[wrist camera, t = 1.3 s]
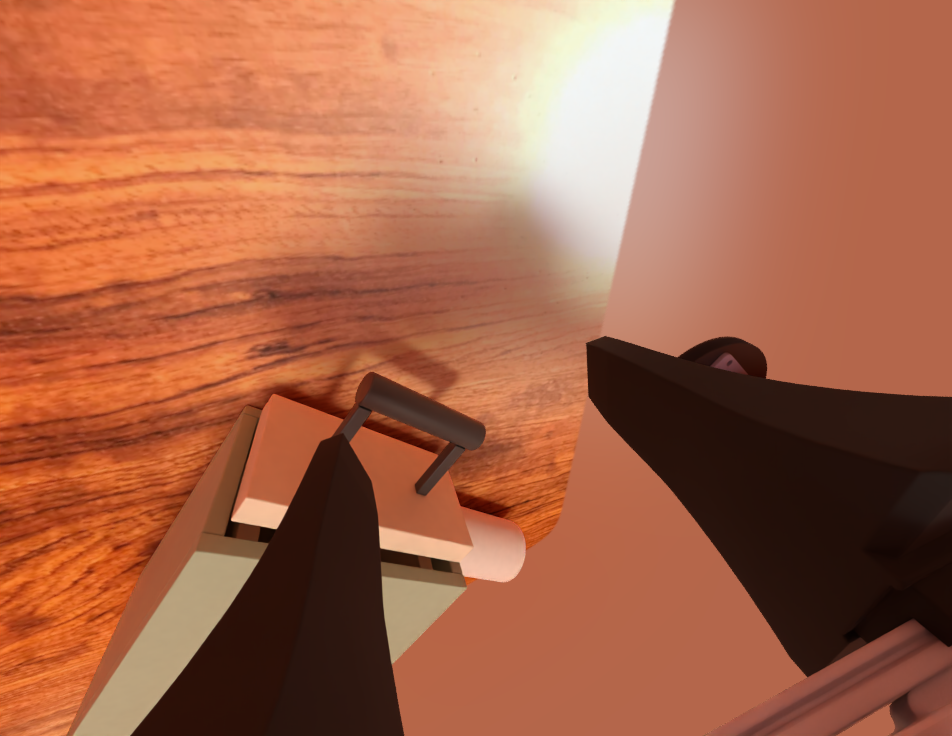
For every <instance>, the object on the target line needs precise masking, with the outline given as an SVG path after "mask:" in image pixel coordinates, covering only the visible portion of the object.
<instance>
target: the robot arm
mask: <svg viewBox="0 0 952 736" xmlns="http://www.w3.org/2000/svg"><path fill="white" fill-rule="evenodd" d="M586 347H587V371H588V395H589V398H590V399H591V401H592V402H593V403H594V405H595V406H596V408H597V409H598V410H599V412H600V413H601V414H602V416H603V417H604V418H605V420H606V421H607V422H608V424H609V425H610V426H611V427H612V428H613V429H614V430H615V431H616V432H617V433H618V434H619V435H620V436H621V437H622V438H623V439H624V441H625V442H626V443H627V444H628V445H629V446H630V447H631V448H632V449H633V450H634V451H635V452H636V453H637V454H638V455H639V456H640V457H641V458H642V459H643V460H644V461H645V462H646V463H647V464H648V465H649V466H650V467H651V468H652V470H653V471H654V472H655V473H657V475H658V476H659V477H660V478H661V479H662V480H663V481H664V482H665V483H666V484H667V485H668V487H669V488H670V489H671V490H672V491H673V492H674V494H675V495H676V496H677V498H678V499H679V500H680V501H681V502H682V504H683V505H684V506H685V508H686V509H687V510H688V512H689V513H690V514H691V515H692V517H693V518H694V519H695V520H696V522H697V523H698V524H699V526H700V527H701V528H702V530H703V531H704V532H705V534H706V535H707V536H708V538H709V539H710V540H711V542H712V543H713V544H714V546H715V547H716V548H717V550H718V551H719V552H720V554H721V555H722V556H723V558H724V559H725V561H726V562H727V564H728V565H729V567H730V568H731V569H732V571H733V572H734V574H735V575H736V576H737V578H738V579H739V581H740V582H741V583H742V585H743V586H744V587H745V589H746V591H747V592H748V594H749V595H750V597H751V598H752V600H753V601H754V602H755V604H756V606H757V607H758V609H759V610H760V612H761V613H762V615H763V616H764V618H765V619H766V621H767V622H768V624H769V625H770V626H771V628H772V630H773V631H774V633H775V634H776V636H777V637H778V639H779V641H780V642H781V644H782V645H783V647H784V649H785V650H786V652H787V653H788V655H789V656H790V658H791V659H792V660H793V661H794V662H795V664H796V665H797V666H798V667H799V668H800V669H801V670H802V672H803V673H804V674H805V675H806V676H807V677H808V678H806V679H804V680H803V681H800V682H799V683H797V684H795V685H793V686H792V687H790V688H788V689H786V690H784V691H783V692H781V693H779V694H777V695H776V696H774V697H772V698H770V699H768V700H767V701H765V702H763V703H761V704H759V705H758V706H756V707H754V708H752V709H750V710H749V711H747V712H745V713H743V714H742V715H740V716H738V717H736V718H734V719H733V720H731V721H729V722H727V723H725V724H724V725H722V726H720V727H718V728H717V729H715V730H713V731H711V732H709V733H708V734H706V735H704V736H836V735H838V734H840V733H841V732H843V731H845V730H846V729H848V728H850V727H851V726H853V725H855V724H856V723H858V722H860V721H862V720H863V719H865V718H867V717H868V716H870V715H872V714H873V713H874V712H877V711H878V710H880V709H882V708H883V707H885V706H887V705H889V704H890V703H892V704H891V705H890V715H891V717H892V719H893V721H894V724H895V730H894V732H893V733H891V734H890V735H888V736H952V397H937V396H913V395H897V394H884V393H871V392H860V391H851V390H840V389H832V388H824V387H817V386H809V385H801V384H795V383H788V382H781V381H776V380H770V379H765V378H760V377H755V376H749V375H748V374H747V373H746V372H745V370H744V369H743V368H742V367H741V366H740V364H739V363H738V362H737V361H736V360H735V358H734V357H733V356H732V355H731V354H729V353H723V354H722V355H721V356H720V357H719V358H718V359H717V360H716V361H715V362H714V363H713V364H712V365H711V366H706V365H702V364H698V363H695V362H691V361H688V360H684V359H681V358H677V357H674V356H670V355H667V354H664V353H660V352H657V351H654V350H650V349H647V348H644V347H641V346H638V345H635V344H631V343H628V342H625V341H621V340H618V339H614V338H610V337H606V336H604V337H601V338H599V339H596V340H593V341H590V342H588V343H586ZM130 736H404V732H403V727H402V721H401V716H400V711H399V705H398V699H397V693H396V687H395V682H394V675H393V669H392V663H391V657H390V650H389V644H388V637H387V630H386V624H385V616H384V606H383V592H382V573H381V555H380V537H379V521H378V512H377V506H376V500H375V495H374V490H373V485H372V481H371V479H370V477H369V476H368V474H367V472H366V471H365V469H364V467H363V465H362V464H361V462H360V460H359V459H358V457H357V455H356V454H355V452H354V450H353V448H352V447H351V445H350V443H349V442H348V440H347V438H346V437H345V435H344V433H341V434H338V435H336V436H333V437H330V438H327V439H325V440H322V441H320V443H319V445H318V447H317V449H316V451H315V453H314V455H313V457H312V459H311V462H310V464H309V466H308V468H307V470H306V472H305V474H304V476H303V479H302V481H301V483H300V485H299V487H298V489H297V491H296V493H295V495H294V497H293V499H292V501H291V503H290V505H289V507H288V509H287V511H286V513H285V515H284V517H283V519H282V521H281V523H280V524H279V526H278V528H277V530H276V531H275V533H274V535H273V537H272V539H271V540H270V542H269V544H268V546H267V548H266V549H265V551H264V553H263V555H262V556H261V558H260V560H259V561H258V563H257V565H256V566H255V568H254V570H253V571H252V573H251V574H250V576H249V578H248V579H247V581H246V582H245V584H244V585H243V587H242V588H241V590H240V591H239V593H238V594H237V596H236V597H235V599H234V600H233V602H232V603H231V605H230V606H229V608H228V609H227V611H226V612H225V614H224V615H223V616H222V618H221V619H220V620H219V622H218V623H217V624H216V626H215V627H214V629H213V630H212V631H211V633H210V634H209V635H208V637H207V638H206V639H205V641H204V642H203V644H202V645H201V646H200V648H199V649H198V650H197V652H196V653H195V654H194V656H193V657H192V659H191V660H190V661H189V663H188V664H187V665H186V667H185V668H184V669H183V671H182V672H181V673H180V674H179V676H178V677H177V678H176V680H175V681H174V682H173V683H172V685H171V686H170V687H169V688H168V690H167V691H166V692H165V693H164V695H163V696H162V697H161V698H160V700H159V701H158V702H157V704H156V705H155V706H154V707H153V708H152V710H151V711H150V712H149V713H148V714H147V716H146V717H145V718H144V719H143V721H142V722H141V723H140V724H139V725H138V727H137V728H136V729H135V730H134V731H133V733H132V734H131V735H130Z"/></svg>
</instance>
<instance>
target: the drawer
mask: <svg viewBox="0 0 952 736" xmlns="http://www.w3.org/2000/svg"><path fill="white" fill-rule="evenodd" d="M355 402H356V404H355V405H354V406H353V408H352V409H351V410H350V412H349V413H348V415H347V416H346V417H345V419H344V420H343V419H340V418H338V417H335V416H332V415H330V414H327V413H324V412H322V411H319V410H316V409H314V408H311V407H308V406H306V405H303V404H300V403H297V402H295V401H292V400H289V399H287V398H284V397H281V396H279V395H276V394H273V395H272V396H271V397H270V399H269V401H268V402H267V404H266V405H265V407H264V408H263V410H262V412H261V415H260V419H259V422H258V426H257V429H256V433H255V436H254V440H253V443H252V447H251V450H250V454H249V457H248V459H247V461H246V463H245V466H244V470H243V473H242V477H241V480H240V484H239V487H238V491H237V494H236V497H235V501H234V504H233V508H232V511H231V515H230V518H229V522H228V525H227V529H226V532H225V535H224V536H225V537H231V538H237V539H244V540H250V541H256V542H262V543H269V542H270V540H271V539H272V537H273V535H274V533H275V531H276V530H277V528H278V526H279V524H280V523H281V521H282V519H283V517H284V515H285V513H286V511H287V509H288V507H289V505H290V503H291V501H292V499H293V497H294V495H295V493H296V491H297V489H298V487H299V485H300V483H301V481H302V479H303V476H304V474H305V472H306V470H307V468H308V466H309V464H310V462H311V459H312V457H313V455H314V453H315V451H316V449H317V447H318V445H319V443H320V441H322V440H325V439H327V438H330V437H333V436H336V435H338V434H341V433H344V435H345V437H346V438H347V440H348V442H349V443H350V445H351V447H352V448H353V450H354V452H355V454H356V455H357V457H358V459H359V460H360V462H361V464H362V465H363V467H364V469H365V471H366V472H367V474H368V476H369V477H370V479H371V481H372V485H373V490H374V495H375V500H376V506H377V512H378V521H379V537H380V555H381V562H387V563H393V564H399V565H405V566H412V567H418V568H424V569H430V570H433V568H432V563H431V558H437V559H442V560H448V561H453V562H461V561H462V559H463V558H464V557H465V556H466V555H467V554H468V553H469V552H470V551H471V550H472V549H473V548H474V546H473V543H472V540H471V537H470V534H469V531H468V528H467V525H466V522H465V519H464V516H463V513H462V510H461V507H460V504H459V501H458V498H457V495H456V492H455V489H454V486H453V482H452V479H451V476H450V473H449V468H450V467H451V466H452V465H453V464H454V463H455V461H456V460H457V459H458V458H459V457H460V456H461V454H462V453H463V452H464V451H465V448H466V449H469V450H476V449H477V448H479V447H480V446H481V444H482V443H483V441H484V438H485V434H486V429H485V426H484V425H483V423H481V422H479V421H477V420H475V419H473V418H470V417H468V416H466V415H464V414H462V413H460V412H458V411H456V410H453V409H451V408H449V407H447V406H445V405H443V404H441V403H438V402H436V401H434V400H432V399H430V398H428V397H426V396H423V395H421V394H419V393H417V392H415V391H413V390H411V389H409V388H406V387H404V386H402V385H400V384H398V383H396V382H394V381H391V380H389V379H387V378H385V377H383V376H381V375H379V374H377V373H374V372H369V373H368V374H367V375H366V376H365V377H364V378H363V380H362V381H361V383H360V385H359V387H358V389H357V392H356V396H355ZM372 411H375V412H377V413H380V414H382V415H385V416H387V417H390V418H392V419H394V420H397V421H399V422H402V423H404V424H407V425H409V426H412V427H414V428H417V429H419V430H422V431H424V432H427V433H429V434H431V435H434V436H436V437H439V438H441V439H444V440H446V441H449V442H450V443H449V444H448V445H447V446H446V447H445V449H444V450H443V451H442V452H441V453H440V455H437V454H434V453H432V452H429V451H426V450H424V449H421V448H418V447H416V446H413V445H410V444H408V443H405V442H402V441H399V440H397V439H394V438H391V437H389V436H386V435H383V434H381V433H378V432H375V431H373V430H370V429H367V428H365V427H362V425H363V423H364V422H365V421H366V419H367V418H368V417H369V415H370V414H371V413H372ZM430 557H431V558H430Z"/></svg>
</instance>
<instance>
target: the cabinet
mask: <svg viewBox="0 0 952 736" xmlns="http://www.w3.org/2000/svg"><path fill="white" fill-rule="evenodd" d="M261 412H262V410H260V409H257V408H254V407H251V406H248V405H246V406H245V408H244V409H243V411H242V413H241V414H240V416H239V417H238V419H237V421H236V422H235V424H234V425H233V427H232V429H231V430H230V432H229V433H228V435H227V437H226V438H225V440H224V441H223V443H222V445H221V446H220V448H219V449H218V451H217V453H216V454H215V456H214V457H213V459H212V461H211V462H210V464H209V465H208V467H207V469H206V470H205V472H204V473H203V475H202V477H201V478H200V480H199V481H198V483H197V485H196V486H195V488H194V489H193V491H192V493H191V494H190V496H189V498H188V499H187V501H186V502H185V504H184V506H183V507H182V509H181V510H180V512H179V514H178V515H177V517H176V518H175V520H174V522H173V523H172V525H171V526H170V528H169V530H168V531H167V533H166V534H165V536H164V538H163V539H162V541H161V542H160V544H159V546H158V547H157V549H156V550H155V552H154V554H153V555H152V557H151V558H150V560H149V562H148V563H147V565H146V566H145V568H144V570H143V571H142V573H141V574H140V576H139V578H138V581H137V583H136V586H135V587H134V589H133V592H132V594H131V596H130V598H129V600H128V603H127V605H126V607H125V609H124V611H123V613H122V616H121V618H120V620H119V622H118V624H117V627H116V629H115V631H114V633H113V635H112V638H111V640H110V642H109V644H108V646H107V648H106V651H105V653H104V655H103V657H102V659H101V662H100V664H99V666H98V668H97V670H96V672H95V675H94V677H93V679H92V681H91V683H90V686H89V688H88V690H87V692H86V694H85V697H84V699H83V701H82V703H81V705H80V707H79V710H78V712H77V714H76V716H75V718H74V721H73V723H72V725H71V727H70V729H69V732H68V734H67V736H130V735H131V734H132V733H133V731H134V730H135V729H136V728H137V727H138V725H139V724H140V723H141V722H142V721H143V719H144V718H145V717H146V716H147V714H148V713H149V712H150V711H151V710H152V708H153V707H154V706H155V705H156V704H157V702H158V701H159V700H160V698H161V697H162V696H163V695H164V693H165V692H166V691H167V690H168V688H169V687H170V686H171V685H172V683H173V682H174V681H175V680H176V678H177V677H178V676H179V674H180V673H181V672H182V671H183V669H184V668H185V667H186V665H187V664H188V663H189V661H190V660H191V659H192V657H193V656H194V654H195V653H196V652H197V650H198V649H199V648H200V646H201V645H202V644H203V642H204V641H205V639H206V638H207V637H208V635H209V634H210V633H211V631H212V630H213V629H214V627H215V626H216V624H217V623H218V622H219V620H220V619H221V618H222V616H223V615H224V614H225V612H226V611H227V609H228V608H229V606H230V605H231V603H232V602H233V600H234V599H235V597H236V596H237V594H238V593H239V591H240V590H241V588H242V587H243V585H244V584H245V582H246V581H247V579H248V578H249V576H250V574H251V573H252V571H253V570H254V568H255V566H256V565H257V563H258V561H259V560H260V558H261V556H262V555H263V553H264V551H265V549H266V548H267V546H268V544H269V543H262V542H256V541H250V540H244V539H237V538H231V537H225V536H224V535H225V532H226V529H227V525H228V522H229V518H230V515H231V511H232V508H233V504H234V501H235V497H236V494H237V491H238V487H239V484H240V480H241V477H242V473H243V470H244V466H245V463H246V461H247V459H248V457H249V454H250V450H251V447H252V443H253V440H254V436H255V433H256V429H257V426H258V422H259V419H260V415H261ZM430 558H431V557H430ZM431 563H432V568H433V570H430V569H424V568H418V567H412V566H405V565H399V564H393V563H387V562H381V573H382V592H383V606H384V616H385V624H386V630H387V637H388V644H389V650H390V657H391V663H392V664H393V663H394V662H395V661H396V660H397V659H398V658H399V657H400V656H401V655H402V654H403V653H404V652H405V651H406V650H407V649H408V648H409V647H410V645H412V644H413V643H414V642H415V641H416V640H417V639H418V638H419V636H420V635H422V634H423V632H424V631H425V630H426V629H427V628H428V627H429V626H430V625H431V624H432V623H433V622H434V621H435V620H436V619H437V618H438V617H439V616H440V615H441V614H442V613H443V612H444V611H445V610H446V609H447V608H448V607H449V606H450V605H451V604H452V603H453V602H454V601H455V600H456V599H457V598H458V597H459V596H460V595H461V594H462V593H463V592H464V591H465V590H466V589H467V586H466V583H465V579H464V576H463V575H462V569H461V566H460V562H453V561H448V560H442V559H437V558H431Z"/></svg>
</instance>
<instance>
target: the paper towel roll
mask: <svg viewBox="0 0 952 736" xmlns="http://www.w3.org/2000/svg"><path fill="white" fill-rule="evenodd" d="M460 507H461V510H462V513H463V516H464V519H465V522H466V525H467V528H468V531H469V534H470V537H471V540H472V543H473V546H474V548H473V549H472V550H471V551H470V552H469V553H468V554H467V555H466V556H465V557H464V558H463V559H462V561H461V562H460V566H461V569H462V575H463V576H466V577H473V578H479V579H485V580H492V581H498V582H507V581H510V580H511V579H513V578H514V577H515V576H516V575H517V574H518V573H519V571H520V570H521V567H522V565H523V562H524V559H525V552H526V545H525V539H524V535H523V533H522V531H521V529H520V527H519V526H518V525H517V524H516V523H514V522H513V521H510V520H507V519H503V518H500V517H496V516H493V515H490V514H486V513H483V512H479V511H476V510H472V509H469V508H466V507H462V506H460Z"/></svg>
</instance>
